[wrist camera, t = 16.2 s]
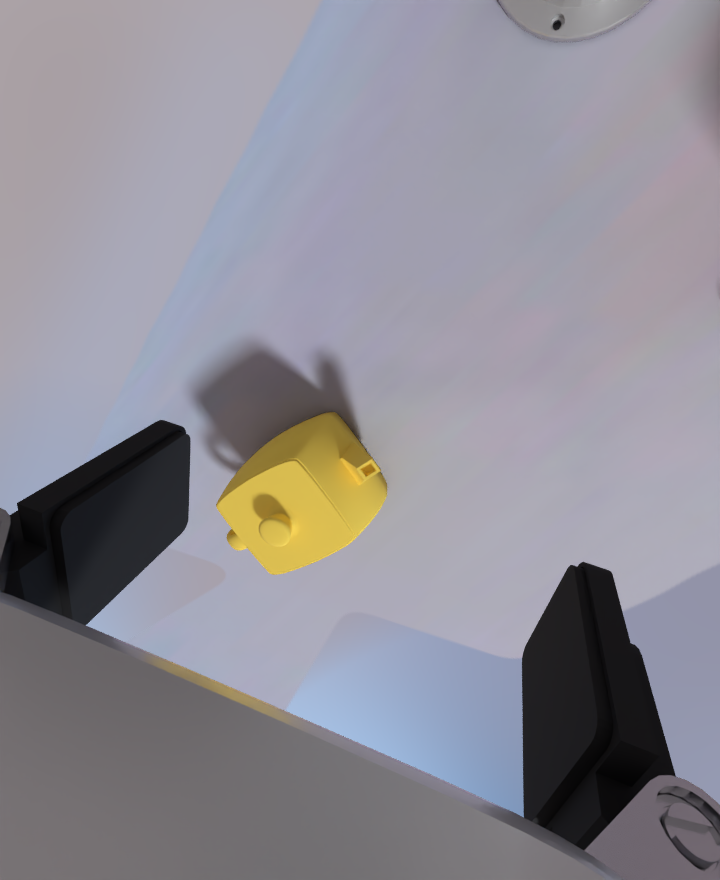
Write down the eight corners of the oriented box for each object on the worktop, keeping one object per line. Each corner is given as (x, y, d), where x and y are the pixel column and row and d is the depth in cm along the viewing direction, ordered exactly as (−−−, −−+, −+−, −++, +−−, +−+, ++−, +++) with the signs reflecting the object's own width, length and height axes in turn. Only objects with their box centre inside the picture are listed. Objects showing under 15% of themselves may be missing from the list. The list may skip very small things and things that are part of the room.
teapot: (365, 377, 47) (322, 423, 37) (433, 476, 49) (411, 545, 39) (232, 461, 56) (169, 517, 46) (295, 541, 59) (248, 611, 48)
